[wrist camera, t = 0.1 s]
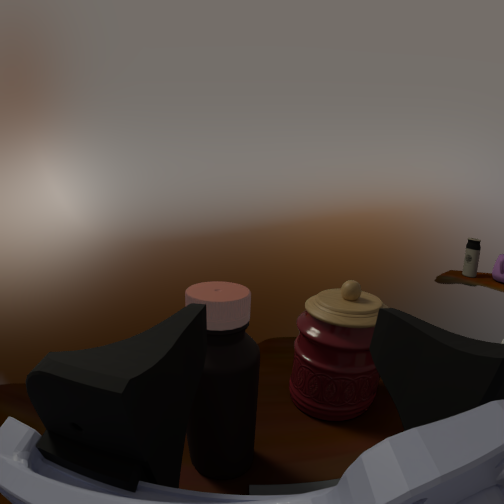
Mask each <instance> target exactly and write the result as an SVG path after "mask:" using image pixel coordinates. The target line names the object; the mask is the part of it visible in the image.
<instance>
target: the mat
mask: <svg viewBox="0 0 504 504" xmlns="http://www.w3.org/2000/svg"><path fill="white" fill-rule="evenodd" d="M339 481H340V479H335V480H327V481H319V482H310V483H298V484H281V485H249V495H257V496H266V495H294V494H303V493H308V492H312V491H317V490H321V489H325V488H329V487H333V486H336V485H337V484H338V482H339Z"/></svg>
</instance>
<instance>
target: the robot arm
mask: <svg viewBox="0 0 504 504" xmlns="http://www.w3.org/2000/svg"><path fill="white" fill-rule="evenodd" d="M369 350H370V353H371V356H372V359H373V362H374V365H375V367H376V369H377V371H378V373H379V375H380V377H381V379H382V380H383V382H384V384H385V386H386V388H387V390H388V392H389V393H390V395H391V397H392V399H393V401H394V403H395V405H396V407H397V410H398V412H399V415H400V418H401V421H402V424H403V427H404V432H401V433H399V434H396V435H394V436H391V437H388V438H386V439H384V440H383V441H381V442H380V443H378V444H376V445H375V446H373V447H371V448H370V449H368V450H366V451H365V452H363V453H362V454H361V455H360V456H359V457H358V458H357V459H356V460H355V461H354V462H353V463H352V464H351V465H350V466H349V467H348V469H347V470H346V471H345V473H344V474H343V476H342V478H341V479H340V481H339V482H338V484H337V485H336V486H333V487H329V488H325V489H321V490H317V491H312V492H308V493H303V494H294V495H266V496H257V495H229V494H216V493H206V492H198V491H190V490H184V489H179V479H180V470H181V462H182V455H183V448H184V442H185V435H186V430H187V424H188V419H189V414H190V410H191V406H192V403H193V400H194V397H195V394H196V391H197V388H198V385H199V382H200V378H201V375H202V372H203V369H204V365H205V359H206V353H207V313H206V304H196V303H191V304H189V305H187V306H186V307H184V308H183V309H181V310H180V311H178V312H177V313H175V314H174V315H172V316H171V317H169V318H168V319H166V320H164V321H163V322H161V323H159V324H157V325H156V326H154V327H152V328H150V329H149V330H147V331H145V332H143V333H140V334H138V335H136V336H133V337H131V338H128V339H125V340H122V341H119V342H115V343H112V344H109V345H105V346H101V347H96V348H91V349H85V350H77V351H64V352H49V353H48V354H47V355H46V356H45V357H44V358H43V359H42V360H41V362H40V363H39V364H38V365H37V366H36V367H35V368H34V369H33V370H32V371H31V372H30V373H29V374H28V375H27V379H26V387H27V392H28V395H29V397H30V400H31V402H32V404H33V406H34V408H35V410H36V411H37V413H38V415H39V417H40V419H41V420H42V422H43V424H44V426H45V427H46V429H47V430H46V431H45V433H44V434H43V436H41V435H40V434H39V433H38V432H37V431H36V430H34V429H33V428H31V427H29V426H27V425H25V424H23V423H22V422H20V421H18V420H16V419H14V418H13V417H8V419H7V420H6V421H5V422H4V424H3V425H2V426H1V427H0V493H1V494H2V495H4V496H5V497H6V498H7V499H8V500H9V501H10V502H11V503H13V504H504V344H499V343H491V342H485V341H480V340H475V339H471V338H467V337H464V336H460V335H457V334H454V333H451V332H448V331H446V330H444V329H441V328H439V327H436V326H434V325H432V324H429V323H427V322H425V321H423V320H421V319H418V318H416V317H414V316H412V315H410V314H407V313H405V312H402V311H400V310H397V309H393V308H379V312H378V316H377V320H376V324H375V328H374V332H373V336H372V339H371V343H370V347H369Z"/></svg>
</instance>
